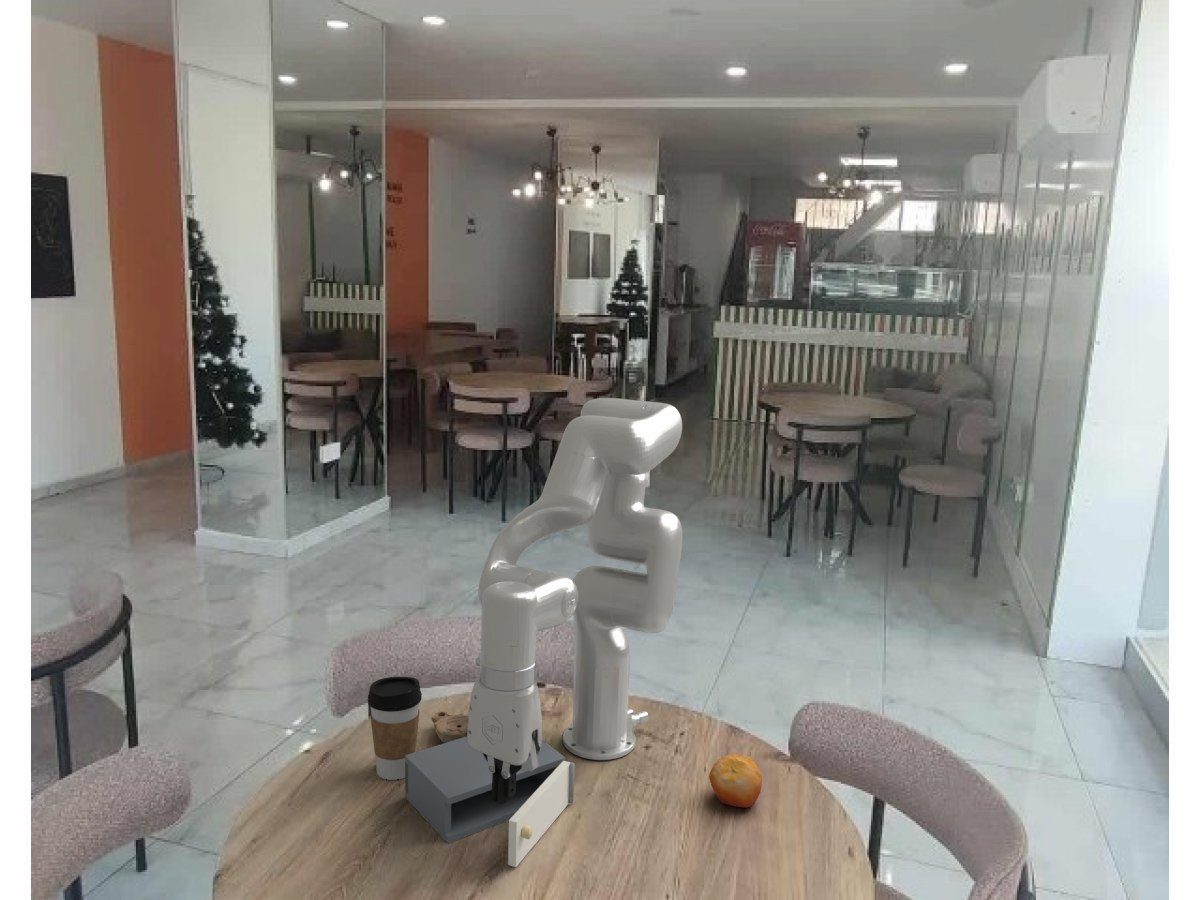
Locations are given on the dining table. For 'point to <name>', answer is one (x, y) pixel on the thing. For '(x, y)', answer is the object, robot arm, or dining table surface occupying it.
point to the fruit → (736, 780)
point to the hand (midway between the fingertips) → (503, 798)
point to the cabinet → (467, 787)
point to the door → (540, 812)
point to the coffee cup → (394, 723)
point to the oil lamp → (450, 726)
